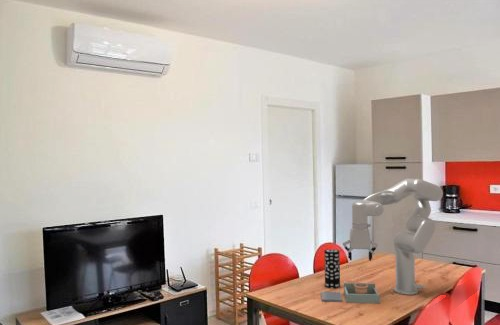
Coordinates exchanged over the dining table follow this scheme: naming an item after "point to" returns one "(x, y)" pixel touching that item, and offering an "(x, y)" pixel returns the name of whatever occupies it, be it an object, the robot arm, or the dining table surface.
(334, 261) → the spotted tube
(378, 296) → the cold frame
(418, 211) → the robot arm
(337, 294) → the slate tile
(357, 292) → the pot
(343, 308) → the dining table surface
